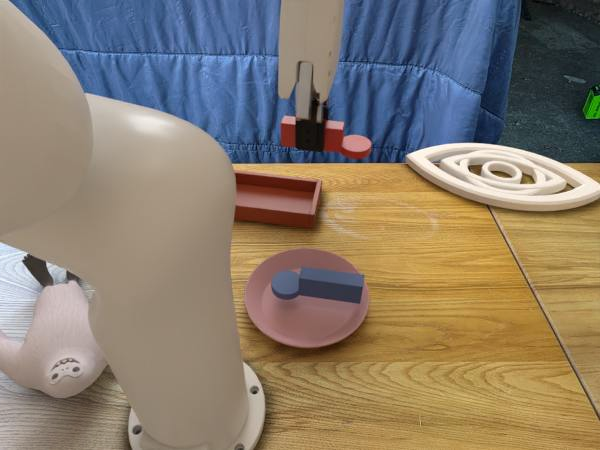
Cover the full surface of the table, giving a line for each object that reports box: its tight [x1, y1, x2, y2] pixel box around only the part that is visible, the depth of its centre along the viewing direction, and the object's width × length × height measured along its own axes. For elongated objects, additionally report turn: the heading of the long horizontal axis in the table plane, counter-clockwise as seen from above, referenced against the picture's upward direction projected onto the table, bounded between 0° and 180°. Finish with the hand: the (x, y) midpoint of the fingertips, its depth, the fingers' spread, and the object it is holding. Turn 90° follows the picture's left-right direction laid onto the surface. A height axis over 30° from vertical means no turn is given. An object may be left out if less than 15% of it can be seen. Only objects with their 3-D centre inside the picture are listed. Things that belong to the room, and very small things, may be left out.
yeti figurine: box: [0, 253, 109, 399], centre depth 47 cm, size 20×7×20 cm
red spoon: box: [280, 115, 373, 160], centre depth 50 cm, size 10×4×3 cm, turn 79°
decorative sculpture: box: [405, 142, 600, 212], centre depth 70 cm, size 15×29×2 cm, turn 82°
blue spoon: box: [271, 267, 365, 304], centre depth 50 cm, size 10×4×3 cm, turn 80°
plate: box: [243, 247, 370, 349], centre depth 52 cm, size 14×14×2 cm
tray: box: [234, 169, 323, 230], centre depth 64 cm, size 14×8×3 cm, turn 80°
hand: (311, 142), depth 52 cm, fingers closed on red spoon
